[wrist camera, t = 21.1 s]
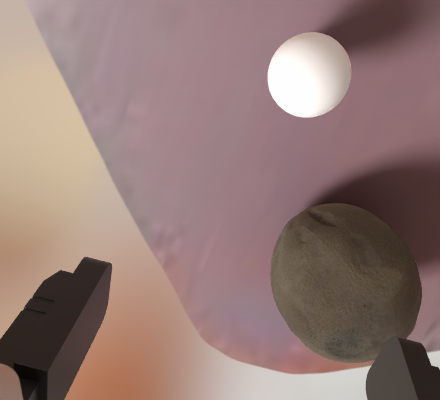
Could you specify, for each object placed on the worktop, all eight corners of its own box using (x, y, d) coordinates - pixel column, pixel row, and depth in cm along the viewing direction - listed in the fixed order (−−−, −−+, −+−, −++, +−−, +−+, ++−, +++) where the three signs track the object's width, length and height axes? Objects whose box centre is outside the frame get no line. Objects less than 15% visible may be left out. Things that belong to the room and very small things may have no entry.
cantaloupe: (255, 265, 51) (248, 369, 38) (294, 163, 43) (302, 248, 30) (365, 295, 51) (396, 409, 38) (422, 200, 44) (484, 299, 31)
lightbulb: (258, 72, 39) (252, 107, 30) (288, 7, 36) (293, 23, 27) (315, 99, 40) (328, 142, 30) (350, 37, 37) (376, 63, 27)
